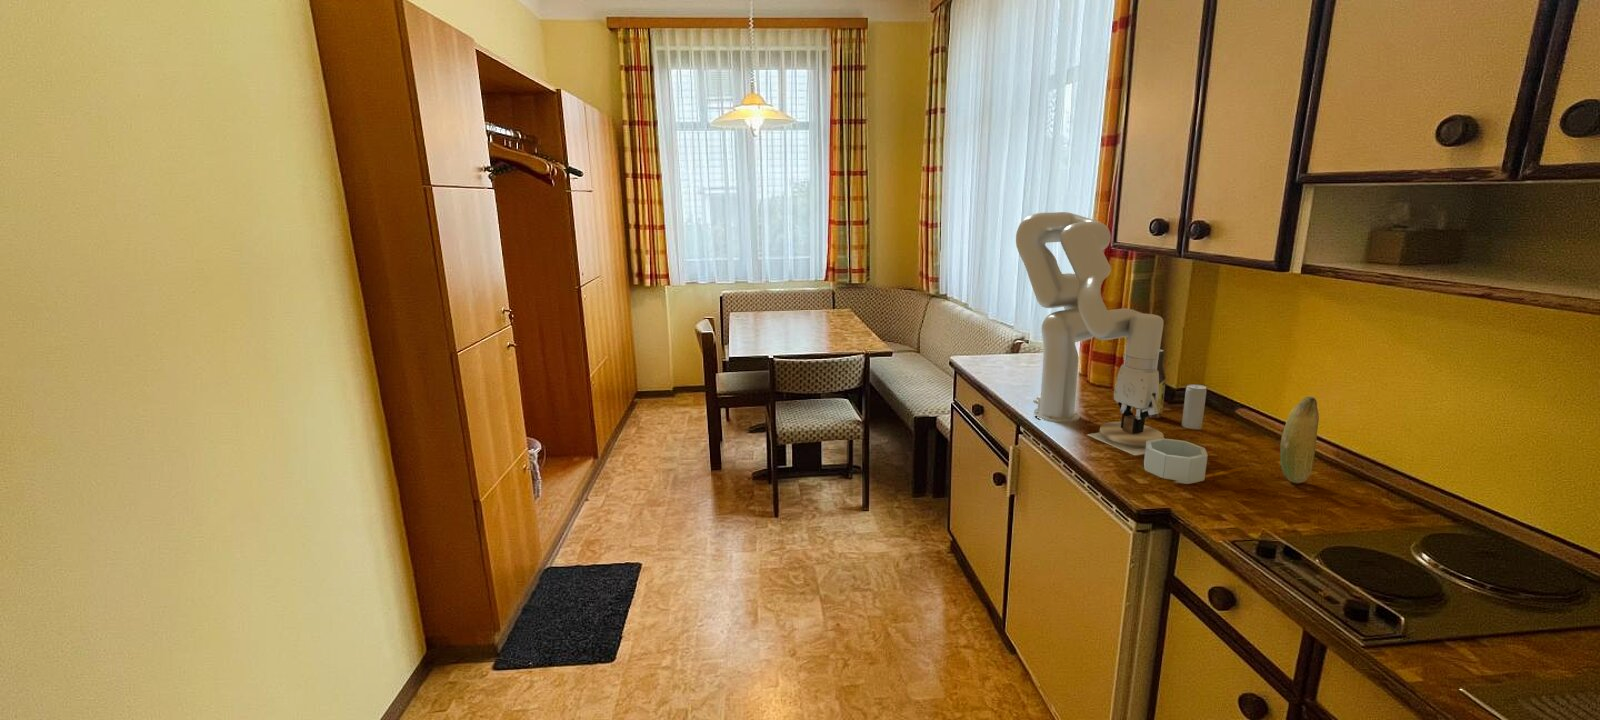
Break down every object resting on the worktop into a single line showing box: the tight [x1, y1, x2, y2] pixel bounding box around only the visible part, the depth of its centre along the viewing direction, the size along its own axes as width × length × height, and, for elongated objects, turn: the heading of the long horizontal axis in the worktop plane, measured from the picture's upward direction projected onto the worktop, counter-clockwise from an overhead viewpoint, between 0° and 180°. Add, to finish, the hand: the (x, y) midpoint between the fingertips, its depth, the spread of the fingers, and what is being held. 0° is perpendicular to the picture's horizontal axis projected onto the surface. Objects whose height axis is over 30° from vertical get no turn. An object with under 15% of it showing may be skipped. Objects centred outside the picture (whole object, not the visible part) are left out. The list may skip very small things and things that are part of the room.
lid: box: [1099, 414, 1165, 446], centre depth 169 cm, size 15×15×5 cm
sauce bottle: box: [1142, 349, 1167, 419], centre depth 187 cm, size 7×6×20 cm
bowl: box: [1143, 437, 1209, 485], centre depth 150 cm, size 12×12×6 cm
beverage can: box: [1181, 383, 1207, 430], centre depth 177 cm, size 5×5×12 cm
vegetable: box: [1279, 396, 1320, 484], centre depth 142 cm, size 6×6×20 cm
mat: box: [1086, 431, 1146, 456], centre depth 169 cm, size 16×16×1 cm
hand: (1131, 429), depth 169 cm, fingers closed on lid, 3 cm apart
